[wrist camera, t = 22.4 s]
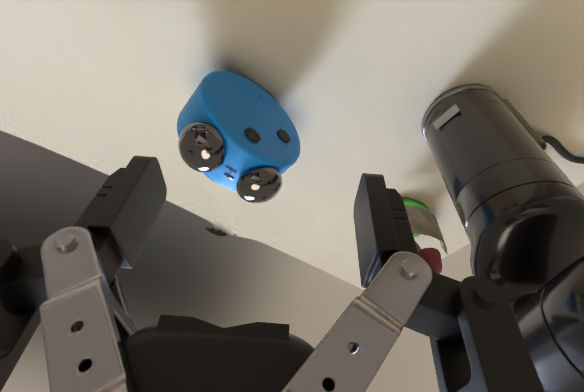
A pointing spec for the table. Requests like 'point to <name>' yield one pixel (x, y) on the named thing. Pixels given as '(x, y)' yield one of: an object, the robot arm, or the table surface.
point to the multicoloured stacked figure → (425, 232)
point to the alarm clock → (237, 136)
